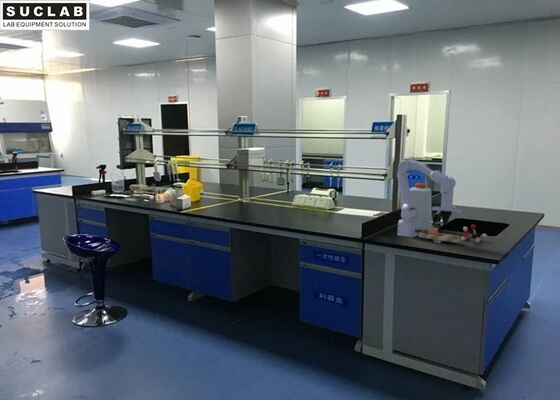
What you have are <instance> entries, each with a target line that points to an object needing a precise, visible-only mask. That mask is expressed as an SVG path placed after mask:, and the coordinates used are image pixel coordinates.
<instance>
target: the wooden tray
mask: <svg viewBox="0 0 560 400" xmlns="http://www.w3.org/2000/svg"><path fill="white" fill-rule="evenodd" d="M428 233H429V230H428V231H427V230H422V231H419V233H418V237H419V238H423V239H430V240H433V243H435V242H436V243H437V244H441V243H442V242H450V243H457V242H459V241H460V235H454V234H448V233H442V232H441V233H440V232H438V235H435V234H428Z"/></svg>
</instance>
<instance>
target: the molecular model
mask: <svg viewBox="0 0 560 400" xmlns="http://www.w3.org/2000/svg"><path fill="white" fill-rule="evenodd" d="M470 226H471V227H470V228H471V229H470V230H469V231H468V229H469V228H468V227H467V226H463V228H462V230H463V235H468V234H469V233H470V234H471V237H469V236H466V237H465V236H461V237H460V239H461V241H467V242H468V241H471V240H472V239H474V240H475V242H476V243H480V242H481V239H480V237H482V238H484V239H485V238H487V236H488V235H487V234H486V233H482V234H481V233H477V232H476V230H475V229H476V227H477V226H476V224H472V225H470Z"/></svg>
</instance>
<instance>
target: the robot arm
mask: <svg viewBox="0 0 560 400" xmlns="http://www.w3.org/2000/svg"><path fill="white" fill-rule="evenodd" d="M397 167H398V170H397V173H396V174H397V175H396V177H397V178H396V179H397V182H398V187H399V192H400V197H401V201H402V206H401V208H400V210H401V213H400V217H401V219H399V220H398V223H397V233H396V235H397V236H400V237H405V238H406V237H407V238H414V237H416V236H418V233H416V230H415V227H416V218H417V217H418V211H417V209H416V207H415V205H414V204H413V203H412V198H411V193H410V189H411V187H410V183H409V178H408V176H409V175H410V173H411V172H413V171H419V172H421V173H422V174H424V175H426V176H427V177H429V179H430V181H433V182H434V183H436V184H438V185H440V187H441V199H440V206H431V211H437V212H439V214H440V216H441V218H442V224H443V226H447V225H448V223H449V220H450V217H451V216H452V214H453V213H455V214H461V212H462V209H459V208H455V207H454V208H453V202H454V201H453V200H454V187H455V186H456V183H457V182H456V180H455V178H453V177H451V176H448V175H446V174H444V173H442V172H441V170H432V169H431V168H429V167H428V166H426V165H424V164H422V163H421V162H419V160H415V159H413V158H411V159H410V158H409V159H402V160H401V161H400V162H399V163H398V165H397Z"/></svg>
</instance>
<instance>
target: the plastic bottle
mask: <svg viewBox="0 0 560 400" xmlns="http://www.w3.org/2000/svg"><path fill="white" fill-rule="evenodd" d="M426 185H427V184H426V183H423V182H422V183H421V182H417V183H415V185H414V186H413V187H410V193H411V198H412V203H413V204H414V205H415V207H416V209H417V211H418V217H417V218H416V227H415V231H419V232H421V231H422V230H427V231H428V232H429V228H433V227H432V225H433V224H432V220H433V219H432V214H433V213H432V211H433V210H432V189H431V188H430V187H426Z"/></svg>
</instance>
